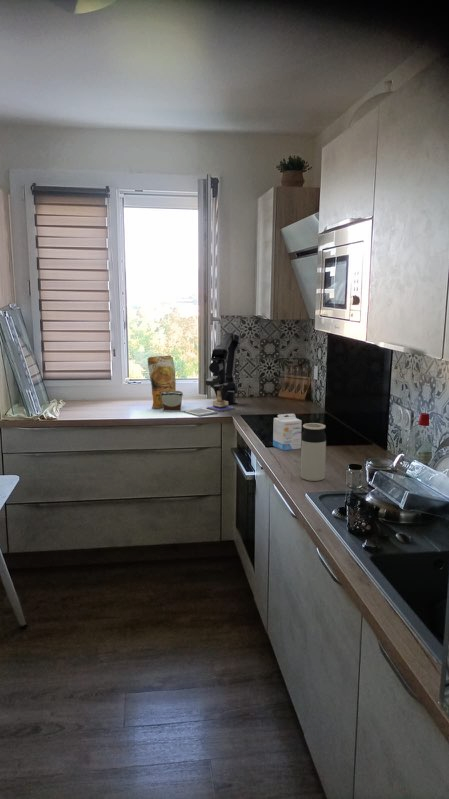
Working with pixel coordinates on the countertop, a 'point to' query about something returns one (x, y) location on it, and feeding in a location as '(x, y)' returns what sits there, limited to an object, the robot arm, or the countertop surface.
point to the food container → (171, 400)
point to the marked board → (200, 412)
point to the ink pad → (220, 408)
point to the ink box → (287, 432)
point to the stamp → (220, 401)
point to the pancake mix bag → (161, 377)
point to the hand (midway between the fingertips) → (220, 399)
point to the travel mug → (313, 452)
